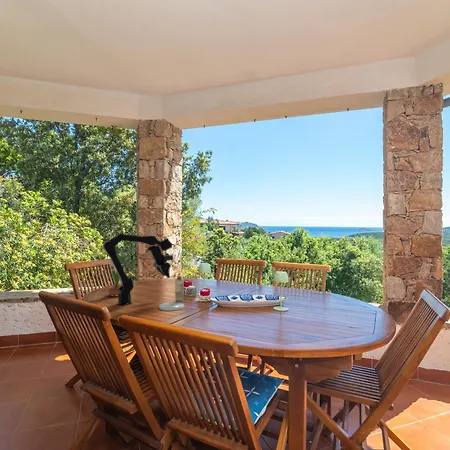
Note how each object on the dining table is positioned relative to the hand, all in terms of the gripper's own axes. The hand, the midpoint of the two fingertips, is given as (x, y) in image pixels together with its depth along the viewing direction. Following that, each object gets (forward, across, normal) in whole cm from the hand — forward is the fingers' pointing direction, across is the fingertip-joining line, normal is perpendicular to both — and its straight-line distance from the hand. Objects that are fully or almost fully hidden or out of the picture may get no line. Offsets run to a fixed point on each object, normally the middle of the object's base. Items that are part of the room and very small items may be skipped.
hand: (166, 276), depth 210 cm
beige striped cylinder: (+14, -13, +2) cm, 19 cm away
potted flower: (+2, +27, +31) cm, 41 cm away
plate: (+11, -22, +9) cm, 26 cm away
